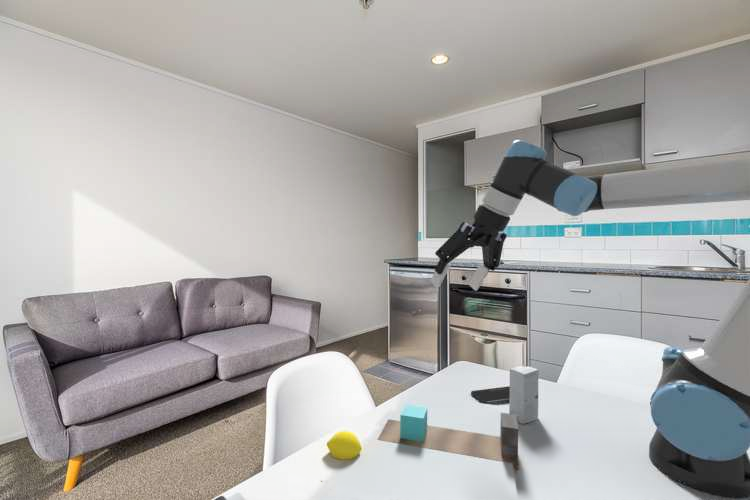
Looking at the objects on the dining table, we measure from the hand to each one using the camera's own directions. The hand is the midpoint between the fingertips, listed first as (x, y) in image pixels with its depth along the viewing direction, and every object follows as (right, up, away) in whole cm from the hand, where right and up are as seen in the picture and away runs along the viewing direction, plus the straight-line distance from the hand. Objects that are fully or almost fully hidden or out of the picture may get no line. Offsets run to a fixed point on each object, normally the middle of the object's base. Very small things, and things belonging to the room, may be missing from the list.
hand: (454, 286), depth 90 cm
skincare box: (+17, -33, 0) cm, 37 cm away
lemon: (-26, -33, -18) cm, 46 cm away
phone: (+15, -33, +11) cm, 38 cm away
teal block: (-11, -31, -11) cm, 35 cm away
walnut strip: (-4, -33, -13) cm, 35 cm away
